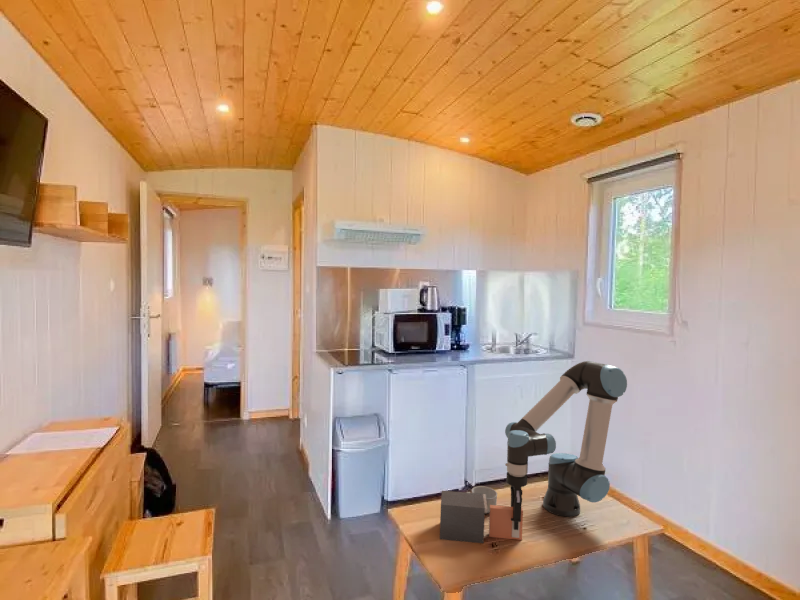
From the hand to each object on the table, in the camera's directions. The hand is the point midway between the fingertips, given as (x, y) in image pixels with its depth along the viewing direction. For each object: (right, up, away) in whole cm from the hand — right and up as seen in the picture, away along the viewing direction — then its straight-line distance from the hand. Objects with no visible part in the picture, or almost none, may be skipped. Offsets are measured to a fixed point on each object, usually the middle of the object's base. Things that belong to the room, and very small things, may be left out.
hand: (514, 534), depth 174 cm
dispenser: (-20, -1, +2) cm, 20 cm away
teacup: (-10, -1, +21) cm, 23 cm away
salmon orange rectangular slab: (-4, -1, 0) cm, 4 cm away
